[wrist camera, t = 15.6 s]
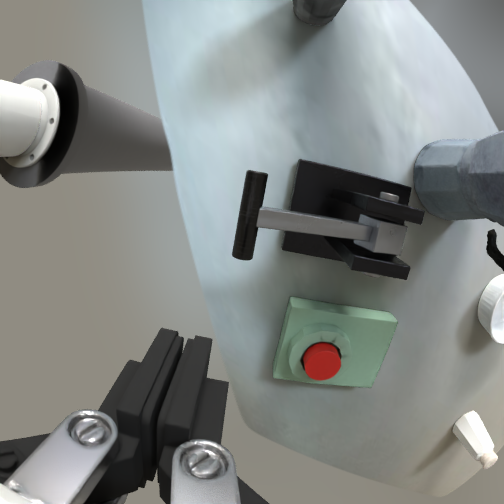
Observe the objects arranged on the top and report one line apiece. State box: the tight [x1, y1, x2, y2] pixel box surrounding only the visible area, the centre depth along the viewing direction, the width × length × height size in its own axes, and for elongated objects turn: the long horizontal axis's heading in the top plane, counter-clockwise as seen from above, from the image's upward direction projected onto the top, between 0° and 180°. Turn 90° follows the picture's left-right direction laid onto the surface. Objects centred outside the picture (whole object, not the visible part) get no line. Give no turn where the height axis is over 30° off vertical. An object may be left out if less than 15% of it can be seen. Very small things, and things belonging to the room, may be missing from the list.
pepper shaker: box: [453, 411, 498, 469], centre depth 33 cm, size 5×5×11 cm
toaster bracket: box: [281, 159, 425, 280], centre depth 25 cm, size 12×9×12 cm
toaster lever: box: [232, 170, 408, 260], centre depth 20 cm, size 12×5×2 cm, turn 80°
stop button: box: [303, 343, 341, 381], centre depth 30 cm, size 4×4×2 cm
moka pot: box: [414, 130, 504, 271], centre depth 20 cm, size 10×15×20 cm, turn 6°
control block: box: [273, 297, 398, 388], centre depth 32 cm, size 12×9×4 cm
